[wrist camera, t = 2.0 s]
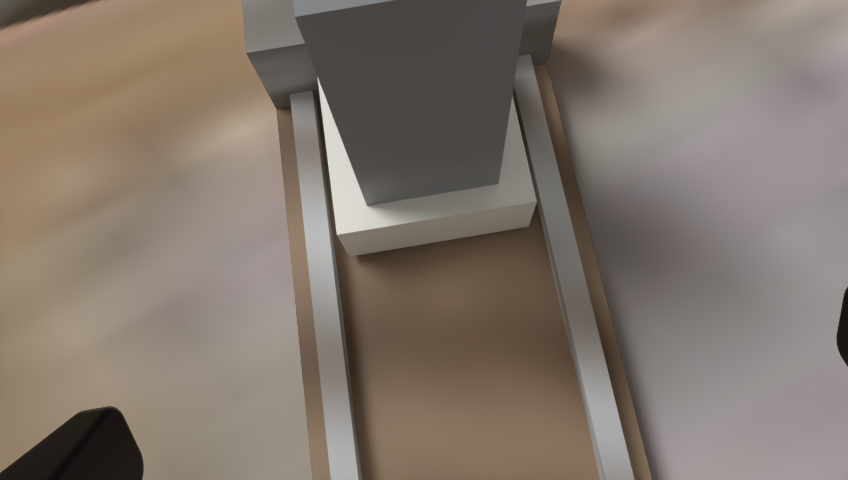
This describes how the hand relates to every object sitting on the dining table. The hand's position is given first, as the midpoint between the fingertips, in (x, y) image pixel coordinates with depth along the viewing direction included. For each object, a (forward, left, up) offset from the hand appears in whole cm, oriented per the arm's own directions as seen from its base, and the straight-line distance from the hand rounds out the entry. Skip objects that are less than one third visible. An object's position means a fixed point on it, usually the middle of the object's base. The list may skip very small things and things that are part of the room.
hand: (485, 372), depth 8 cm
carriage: (+7, -4, -12) cm, 15 cm away
